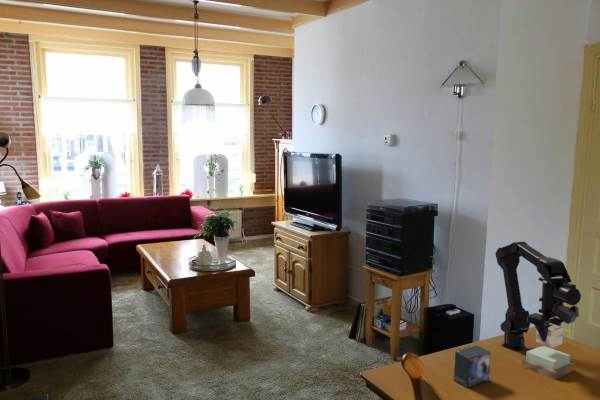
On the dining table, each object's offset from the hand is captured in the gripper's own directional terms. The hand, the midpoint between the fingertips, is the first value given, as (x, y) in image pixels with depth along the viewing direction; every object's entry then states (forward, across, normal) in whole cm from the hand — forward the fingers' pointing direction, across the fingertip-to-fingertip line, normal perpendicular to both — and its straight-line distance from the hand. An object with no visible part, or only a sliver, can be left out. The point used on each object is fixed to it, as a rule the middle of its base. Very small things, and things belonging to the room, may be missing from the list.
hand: (549, 339), depth 168 cm
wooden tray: (+11, 0, 0) cm, 11 cm away
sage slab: (+8, 0, 0) cm, 8 cm away
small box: (+11, -30, +9) cm, 33 cm away
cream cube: (+1, 0, 0) cm, 1 cm away
